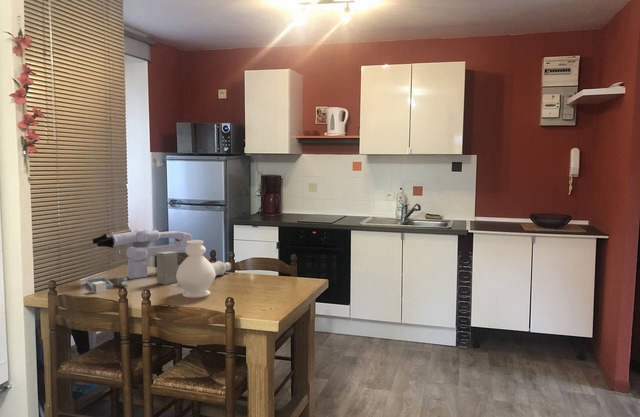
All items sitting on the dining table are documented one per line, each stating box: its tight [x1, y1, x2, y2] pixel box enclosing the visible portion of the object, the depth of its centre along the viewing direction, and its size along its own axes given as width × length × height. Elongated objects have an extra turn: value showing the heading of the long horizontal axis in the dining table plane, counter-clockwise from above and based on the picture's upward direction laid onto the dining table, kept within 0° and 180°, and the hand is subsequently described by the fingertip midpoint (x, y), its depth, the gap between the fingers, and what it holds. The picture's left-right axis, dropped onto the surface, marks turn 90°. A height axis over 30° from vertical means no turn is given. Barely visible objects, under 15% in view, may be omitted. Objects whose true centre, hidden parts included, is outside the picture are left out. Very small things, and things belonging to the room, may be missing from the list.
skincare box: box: [156, 251, 178, 286], centre depth 261 cm, size 8×7×16 cm
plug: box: [115, 275, 128, 288], centre depth 256 cm, size 12×4×4 cm, turn 35°
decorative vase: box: [176, 239, 216, 299], centre depth 239 cm, size 18×18×25 cm
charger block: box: [91, 281, 107, 294], centre depth 244 cm, size 5×4×4 cm
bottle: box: [210, 260, 232, 277], centre depth 272 cm, size 9×9×30 cm
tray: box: [85, 277, 114, 290], centre depth 255 cm, size 17×9×2 cm, turn 35°
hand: (95, 242), depth 260 cm, fingers open, 7 cm apart
